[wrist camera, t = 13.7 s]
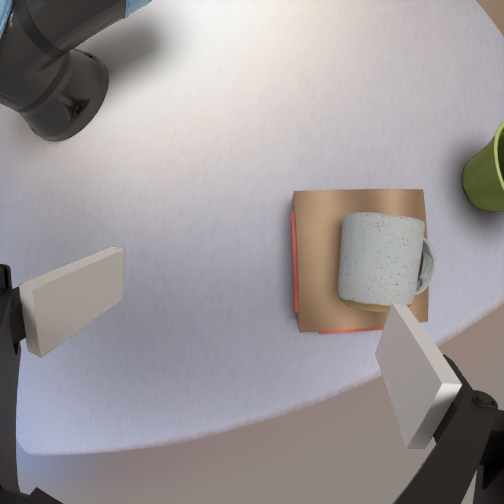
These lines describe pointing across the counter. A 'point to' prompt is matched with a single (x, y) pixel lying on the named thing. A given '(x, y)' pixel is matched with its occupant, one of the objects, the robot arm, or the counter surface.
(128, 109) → the counter surface
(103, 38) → the counter surface
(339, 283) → the ceramic mug
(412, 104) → the counter surface
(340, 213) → the wooden box
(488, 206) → the plant pot
